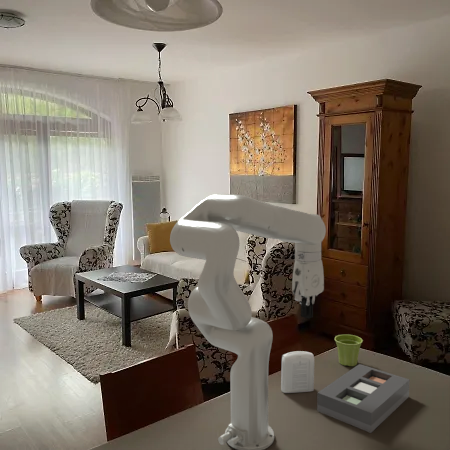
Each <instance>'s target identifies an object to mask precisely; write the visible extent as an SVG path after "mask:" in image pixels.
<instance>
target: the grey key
mask: <svg viewBox="0 0 450 450" xmlns="http://www.w3.org/2000/svg"><path fill="white" fill-rule="evenodd" d="M353 388H355V389H358V390H361V391H364V392H367V393H370V394H371V393H372V392H373V391H374V390H376V389H377V387H374V386H371V385H368V384H365V383H362V382H360V383H358V384H357V385H356V386H354V387H353Z"/></svg>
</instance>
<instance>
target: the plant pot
mask: <svg viewBox="0 0 450 450" xmlns="http://www.w3.org/2000/svg"><path fill="white" fill-rule="evenodd" d="M334 341H335V344H336V347H337V355H338V356H337V357H338V363H339V364H340V365H342V366H344V367H345V366H348V367H356V366H357V365H358V360H359V353H360V348H361V346H362V343H363V341H364V340H363V339H362V338H361V337H359V336H358V335H355V334H354V335H353V334H338V335H335V337H334Z"/></svg>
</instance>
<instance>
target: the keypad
mask: <svg viewBox="0 0 450 450" xmlns="http://www.w3.org/2000/svg"><path fill="white" fill-rule="evenodd" d="M372 376H373V377H377V378H380V379H383V380H386V381H385V382H384V383H383V384H382V383H379V382H376V381H373V380H370V379H369V378H371V377H372ZM360 382H362V383H365V384H368V385H371V386H374V387H377V389H376V390H374V391H373V392H372V393H371V394H370V393H367V392H364V391H361V390H358V389H355V388H353V387H354V386H356V385H357V384H358V383H360ZM410 383H411V382H410V379H409V378H407V377H403V376H400V375H397V374H393V373H389V372H387V371H383V370H380V369H376V368H373V367H371V366H367V365H364V364H360V363H358V364H356V365H355V366H353V368H351V369H350V370H348V371H347V372H346V373H344V374H343V375H341V376H340V377H338V378H336V379H335V380H334V381H333V382H331V383H330V384H328V385H326V386H325V387H324V388H322V389H321V390H319V391H318V392H317V393H316V397H317V398H316V399H317V400H316V403H317V405H316V411H317V412H319V413H321V414H322V415H323V414H324V415H326V416H328V417H330V418H333V419H335V420H338V421H340V422H343V423H345V424H348V425H349V426H353V427H355V428H357V429H360V430H362V431H365V432H368V433H370V434H372V433H373V432H374V431H375V430H376V429H377V428H378V427H380V425H381V424H383V422H384V421H385V420H386V419H388V417H389V416H391V414H393V412H395V411H396V410H397V409H398V408H399V407H400V406H401V405H402V404H403V403H404V402H405V401H406V400H407V399H409V397H410ZM346 396H350V397H353V398H356V399H358V400H361V402H360V403H358V404H357V405H356V404H353V403H350V402H348V401H345V400H342V399H343V398H344V397H346Z"/></svg>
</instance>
